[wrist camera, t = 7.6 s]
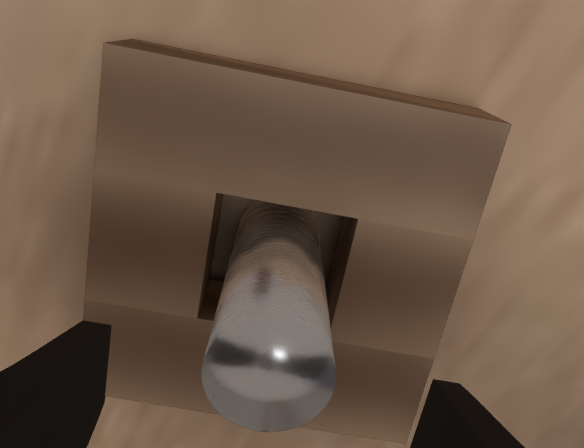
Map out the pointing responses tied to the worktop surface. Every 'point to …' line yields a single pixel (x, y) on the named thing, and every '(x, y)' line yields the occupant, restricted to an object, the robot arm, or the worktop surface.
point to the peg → (272, 324)
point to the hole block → (286, 191)
